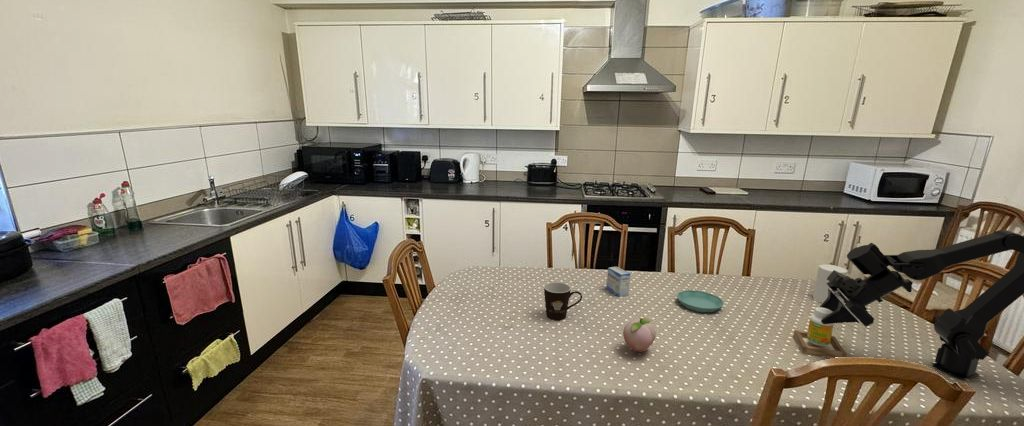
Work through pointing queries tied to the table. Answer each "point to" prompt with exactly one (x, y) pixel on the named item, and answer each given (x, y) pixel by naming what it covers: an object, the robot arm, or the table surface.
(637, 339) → the decorative fruit
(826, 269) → the cup
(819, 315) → the supplement bottle
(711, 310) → the saucer
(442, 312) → the table surface
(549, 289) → the coffee mug
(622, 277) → the medicine box
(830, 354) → the tray
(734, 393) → the table surface
